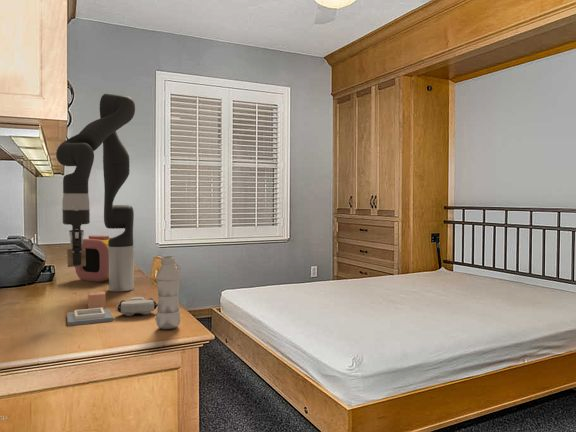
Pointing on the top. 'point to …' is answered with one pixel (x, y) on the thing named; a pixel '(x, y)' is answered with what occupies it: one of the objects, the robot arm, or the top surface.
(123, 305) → the robot toy
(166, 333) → the top surface
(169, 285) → the plastic bottle
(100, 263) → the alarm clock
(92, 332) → the top surface
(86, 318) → the baseplate
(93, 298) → the terracotta cube
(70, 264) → the walnut cube
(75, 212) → the robot arm
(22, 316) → the top surface
